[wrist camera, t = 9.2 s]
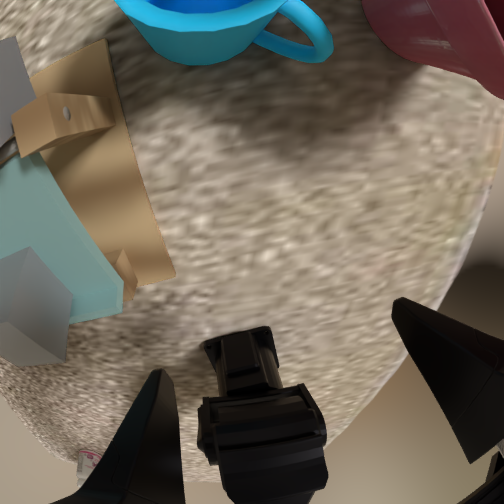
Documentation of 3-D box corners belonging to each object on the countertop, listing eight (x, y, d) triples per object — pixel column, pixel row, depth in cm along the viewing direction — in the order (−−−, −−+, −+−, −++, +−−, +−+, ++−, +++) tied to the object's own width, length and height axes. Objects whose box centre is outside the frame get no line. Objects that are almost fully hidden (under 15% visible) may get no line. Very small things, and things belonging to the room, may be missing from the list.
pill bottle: (106, 456, 37) (103, 492, 30) (96, 459, 38) (93, 493, 31) (85, 447, 35) (80, 484, 28) (76, 450, 36) (71, 485, 29)
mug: (119, 42, 13) (71, 6, 6) (183, -42, 10) (180, -106, 3) (274, 113, 17) (323, 115, 10) (329, 28, 15) (396, -2, 8)
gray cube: (73, 294, 16) (65, 362, 13) (27, 306, 16) (17, 366, 13) (30, 246, 12) (7, 321, 9) (-14, 265, 12) (-34, 331, 9)
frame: (175, 272, 22) (168, 360, 14) (21, 313, 21) (-14, 378, 13) (107, 39, 13) (46, 0, 5) (-49, 146, 12) (-114, 175, 4)
